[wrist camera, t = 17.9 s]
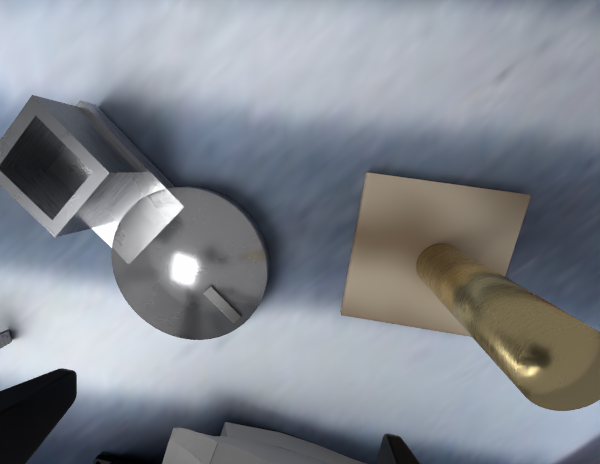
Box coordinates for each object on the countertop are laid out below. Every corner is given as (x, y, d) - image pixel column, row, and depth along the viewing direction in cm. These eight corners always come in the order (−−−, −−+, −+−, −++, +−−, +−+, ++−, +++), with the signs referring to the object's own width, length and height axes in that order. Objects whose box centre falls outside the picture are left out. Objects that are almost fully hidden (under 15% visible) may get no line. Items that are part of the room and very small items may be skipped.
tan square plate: (480, 334, 20) (485, 338, 19) (340, 310, 20) (341, 314, 20) (524, 194, 18) (531, 195, 17) (366, 172, 18) (367, 172, 18)
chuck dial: (301, 269, 20) (295, 295, 16) (199, 356, 22) (171, 398, 18) (117, 75, 18) (57, 48, 14) (27, 191, 20) (-47, 197, 16)
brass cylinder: (457, 289, 19) (601, 417, 9) (412, 283, 19) (505, 402, 9) (468, 246, 18) (636, 334, 8) (420, 240, 18) (531, 320, 9)
